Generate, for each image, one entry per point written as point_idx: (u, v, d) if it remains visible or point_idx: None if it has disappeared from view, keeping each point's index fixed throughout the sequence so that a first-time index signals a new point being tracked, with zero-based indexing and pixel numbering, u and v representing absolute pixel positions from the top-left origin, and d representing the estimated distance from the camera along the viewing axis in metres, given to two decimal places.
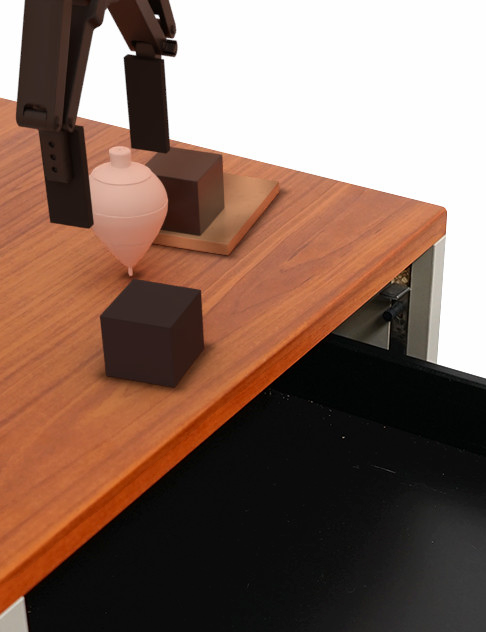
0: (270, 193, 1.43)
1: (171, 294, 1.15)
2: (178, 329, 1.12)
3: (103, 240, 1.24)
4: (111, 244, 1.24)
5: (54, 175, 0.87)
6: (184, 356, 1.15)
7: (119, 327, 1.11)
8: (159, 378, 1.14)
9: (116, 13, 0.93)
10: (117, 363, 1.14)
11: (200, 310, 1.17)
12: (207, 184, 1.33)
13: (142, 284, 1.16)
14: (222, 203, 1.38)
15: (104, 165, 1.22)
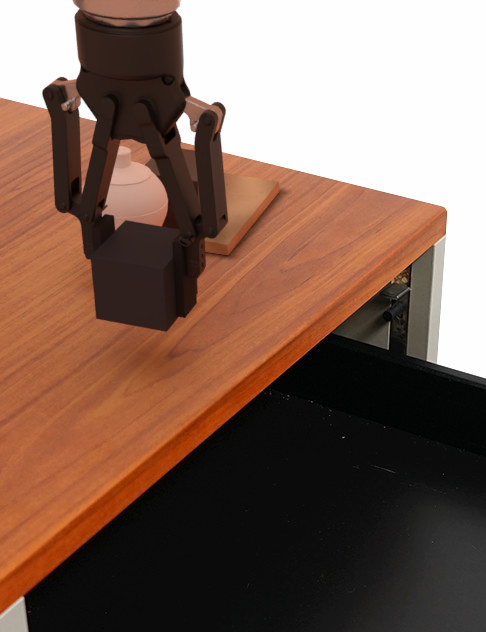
0: (270, 193, 1.43)
1: (164, 236, 1.12)
2: (171, 271, 1.09)
3: None
4: None
5: (202, 270, 1.11)
6: None
7: (110, 268, 1.08)
8: (151, 322, 1.11)
9: (105, 171, 1.06)
10: (107, 306, 1.11)
11: None
12: None
13: (134, 225, 1.13)
14: None
15: None
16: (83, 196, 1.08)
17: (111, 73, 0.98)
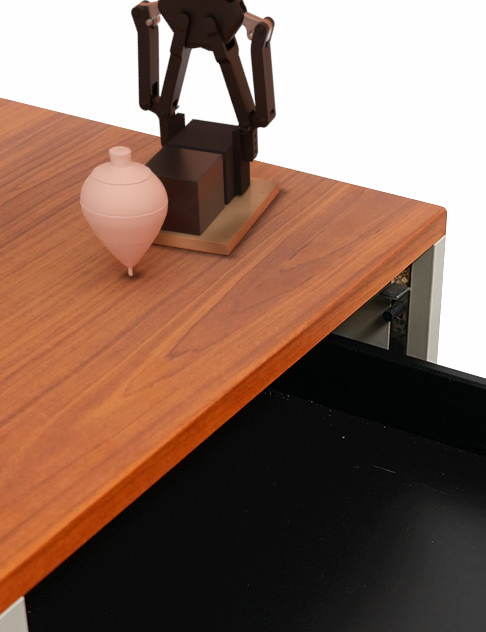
0: (270, 193, 1.43)
1: (224, 129, 1.40)
2: (231, 155, 1.38)
3: (103, 240, 1.24)
4: (111, 244, 1.24)
5: (255, 155, 1.39)
6: None
7: None
8: None
9: (179, 75, 1.35)
10: None
11: None
12: (207, 184, 1.33)
13: (200, 122, 1.41)
14: (222, 203, 1.38)
15: (104, 165, 1.22)
16: (161, 96, 1.36)
17: None
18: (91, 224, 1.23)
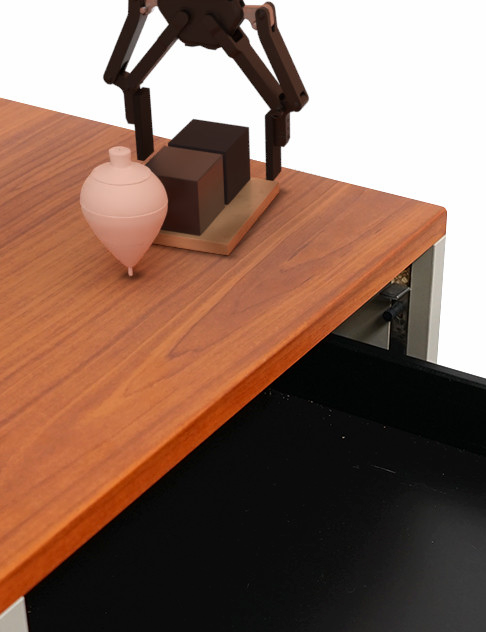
0: (270, 193, 1.43)
1: (225, 129, 1.40)
2: (231, 155, 1.38)
3: (103, 240, 1.24)
4: (111, 244, 1.24)
5: (287, 140, 1.37)
6: (235, 181, 1.40)
7: None
8: None
9: (157, 61, 1.34)
10: None
11: (248, 145, 1.42)
12: (207, 184, 1.33)
13: (201, 122, 1.41)
14: (222, 203, 1.38)
15: (104, 165, 1.22)
16: (132, 72, 1.35)
17: None
18: (91, 224, 1.23)
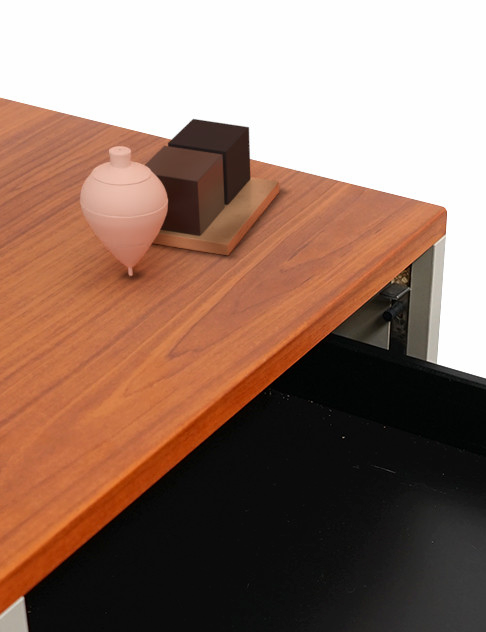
0: (270, 193, 1.43)
1: (225, 129, 1.40)
2: (231, 155, 1.38)
3: (103, 240, 1.24)
4: (111, 244, 1.24)
5: None
6: (235, 181, 1.40)
7: None
8: None
9: None
10: None
11: (248, 145, 1.42)
12: (207, 184, 1.33)
13: (201, 122, 1.41)
14: (222, 203, 1.38)
15: (104, 165, 1.22)
16: None
17: None
18: (91, 224, 1.23)
